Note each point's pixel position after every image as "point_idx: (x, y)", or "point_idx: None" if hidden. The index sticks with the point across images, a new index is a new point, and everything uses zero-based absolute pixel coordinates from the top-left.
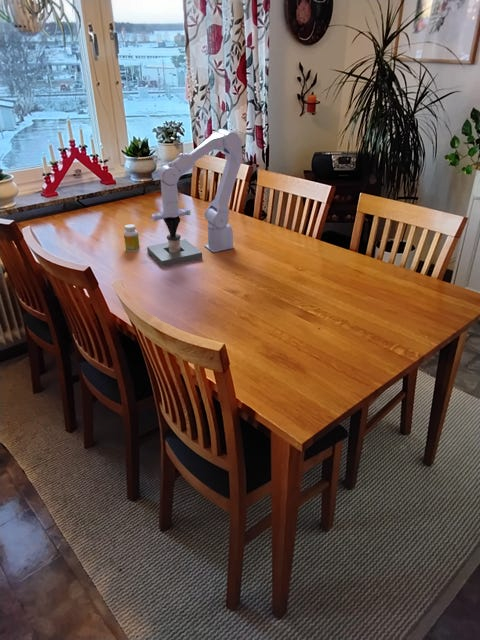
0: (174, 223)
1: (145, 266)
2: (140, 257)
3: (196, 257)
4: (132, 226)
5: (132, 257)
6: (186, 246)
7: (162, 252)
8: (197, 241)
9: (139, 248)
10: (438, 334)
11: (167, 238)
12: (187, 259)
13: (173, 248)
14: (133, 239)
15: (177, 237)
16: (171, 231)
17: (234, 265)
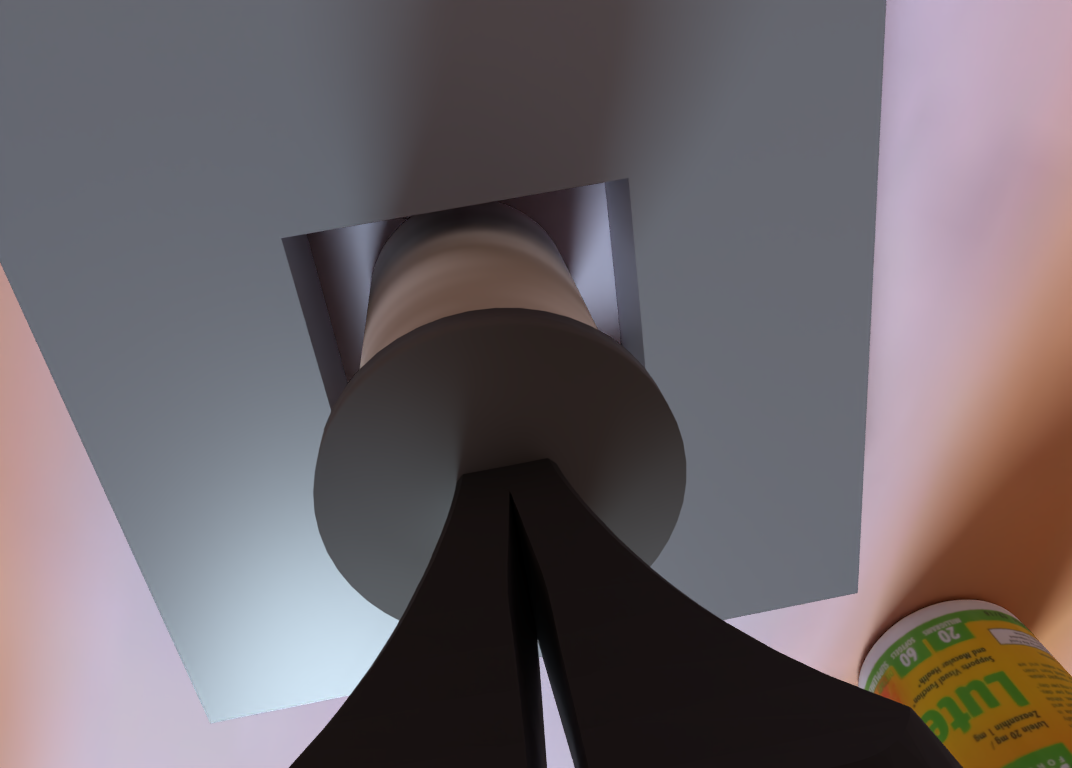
0: (526, 748)
1: (1057, 26)
2: (965, 402)
3: None
4: None
5: (1054, 433)
6: (223, 433)
7: (725, 291)
8: (23, 722)
9: (871, 655)
10: None
11: (679, 439)
12: None
13: (532, 264)
14: (1059, 735)
15: (422, 396)
16: (608, 532)
17: None
